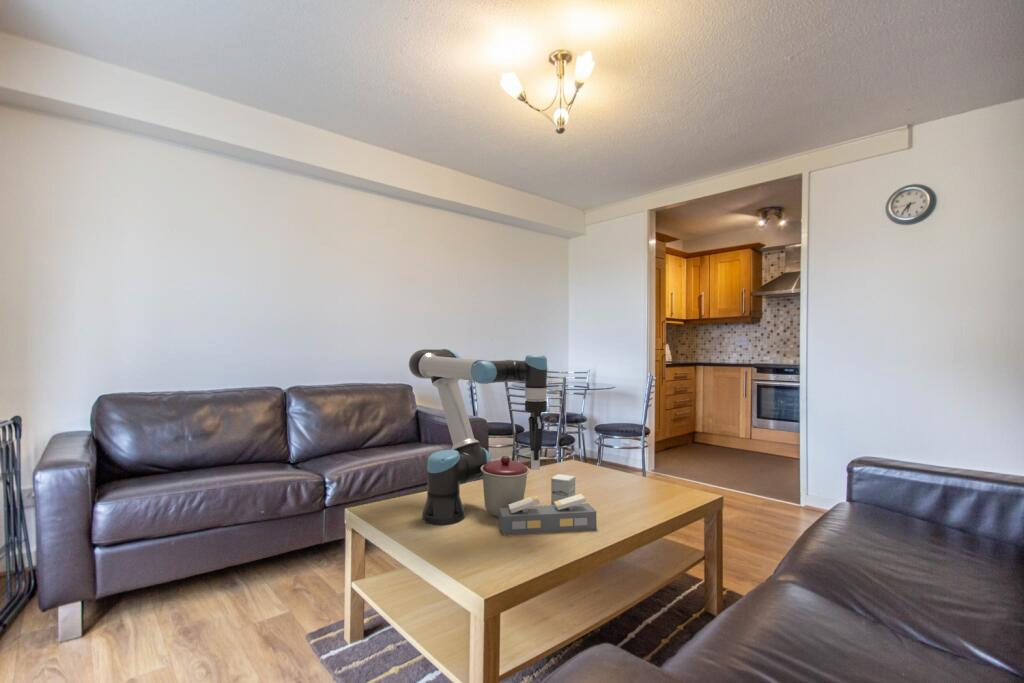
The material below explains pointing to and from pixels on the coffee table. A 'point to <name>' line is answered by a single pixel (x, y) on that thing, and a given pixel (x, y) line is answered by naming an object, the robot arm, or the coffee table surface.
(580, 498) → the bar
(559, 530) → the console
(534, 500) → the rocker
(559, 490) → the supplement box
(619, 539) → the coffee table surface
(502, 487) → the canister
